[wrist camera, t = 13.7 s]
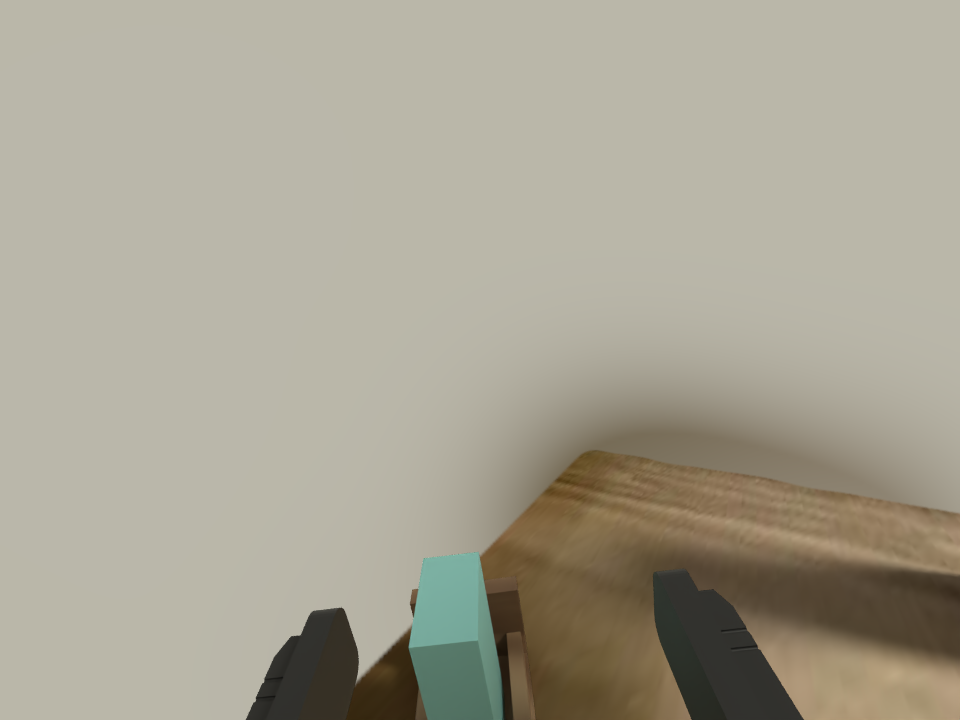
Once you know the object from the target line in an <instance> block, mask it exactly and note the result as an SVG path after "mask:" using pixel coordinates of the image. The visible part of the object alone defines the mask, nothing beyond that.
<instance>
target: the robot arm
mask: <svg viewBox="0 0 960 720" xmlns="http://www.w3.org/2000/svg"><path fill="white" fill-rule="evenodd" d="M653 587H654V615H655V623H656V628H657V632H658V636H659V639H660V642H661V645H662V648H663V650H664V653H665V655H666V658H667V660H668V662H669V665H670V667H671V670H672V672H673V675H674V677H675V680H676V682H677V685H678V687H679V690H680V692H681V694H682V697H683V699H684V702H685V704H686V707H687V709H688V712H689V714H690V717H691V719H692V720H804V719H803V718H802V716H801V715H800V713H799V711H798V710H797V708H796V707H795V705H794V703H793V702H792V700H791V699H790V697H789V695H788V694H787V692H786V691H785V689H784V687H783V686H782V684H781V682H780V681H779V679H778V678H777V676H776V674H775V673H774V671H773V670H772V668H771V666H770V665H769V663H768V662H767V660H766V658H765V657H764V655H763V654H762V652H761V650H759V649H758V647H757V644H756V642H755V641H754V639H753V638H752V636H751V634H750V633H749V632H748V631H747V629H746V626H745V625H744V623H743V621H742V620H741V618H740V617H739V615H738V613H737V612H736V610H735V609H734V607H733V606H732V605H731V604H730V603H729V602H727V601H726V600H725V599H724V598H723V597H722V596H720V595H719V594H718V593H717V592H716V591H715V590H713V589H712V590H703V591H698V589H697V588H696V586H695V584H694V582H693V580H692V579H691V577H690V575H689V573H688V572H687V571H686V570H685V569H676V570H667V571H659V572H654V574H653ZM358 659H359V658H358V651H357V646H356V643H355V640H354V637H353V634H352V631H351V628H350V625H349V622H348V619H347V616H346V613H345V611H344V609H343V608H334V609H326V610H317V611H313V612H312V613H311V614H310V615H309V617H308V620H307V622H306V624H305V626H304V629H303V631H302V634H301V635H300V636H291V637H290V638H289V640H288V641H287V642H286V643H285V645H284V646H283V647H282V648H281V650H280V651H279V652H278V653H277V655H276V656H275V657H274V659H273V661H272V663H271V666H270V668H269V670H268V672H267V674H266V677H265V681H264V683H263V684H262V685H261V688H260V690H259V692H258V694H257V696H256V702H254V703H253V705H252V707H251V710H250V712H249V714H248V716H247V718H246V720H346V717H347V713H348V710H349V706H350V702H351V698H352V694H353V690H354V687H355V683H356V679H357V674H358V664H359V660H358Z"/></svg>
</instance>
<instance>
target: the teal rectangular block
mask: <svg viewBox="0 0 960 720" xmlns="http://www.w3.org/2000/svg"><path fill="white" fill-rule="evenodd" d="M409 651H410V655H411V659H412V662H413V666H414V670H415V674H416V678H417V681H418V685H419V689H420V693H421V697H422V700H423V704H424V708H425V712H426V716H427V719H428V720H505V701H504V689H503V683H502V678H501V672H500V667H499V661H498V656H497V650H496V645H495V639H494V634H493V628H492V623H491V617H490V612H489V606H488V601H487V595H486V590H485V584H484V579H483V573H482V568H481V562H480V557H479V553H478V552H474V553H466V554H458V555H449V556H441V557H432V558H424V559H423V564H422V570H421V576H420V582H419V589H418V595H417V601H416V607H415V613H414V619H413V625H412V631H411V637H410V643H409Z"/></svg>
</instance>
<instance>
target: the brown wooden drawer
mask: <svg viewBox="0 0 960 720" xmlns="http://www.w3.org/2000/svg"><path fill="white" fill-rule="evenodd" d="M484 584H485V590H486V595H487V601H488V606H489V612H490V617H491V623H492V628H493V634H494V639H495V645H496V650H497V656H498V661H499V667H500V672H501V678H502V683H503V689H504V701H505V720H536V717H535V709H534V701H533V693H532V685H531V677H530V669H529V661H528V653H527V645H526V639H525V632H524V626H523V619H522V613H521V606H520V600H519V593H518V587H517V580H516V576H513V577H505V578H498V579H490V580H484ZM417 595H418V589H414V590H412V595H411V601H410V605H411V610H412V613H413V618H414V613H415V607H416V601H417ZM415 720H428V719H427V716H426V712H425V708H424V704H423V700H422V697H421V693H420V689H419V690H418V699H417V708H416V717H415Z"/></svg>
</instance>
